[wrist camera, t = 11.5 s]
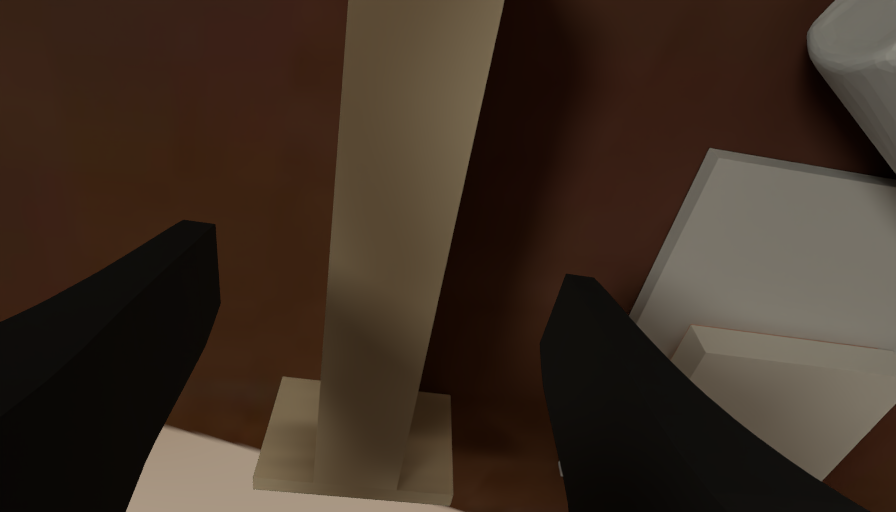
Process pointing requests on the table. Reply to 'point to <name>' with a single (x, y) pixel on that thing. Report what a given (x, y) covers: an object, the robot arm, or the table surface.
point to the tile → (792, 389)
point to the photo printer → (861, 64)
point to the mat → (776, 255)
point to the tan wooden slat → (387, 257)
